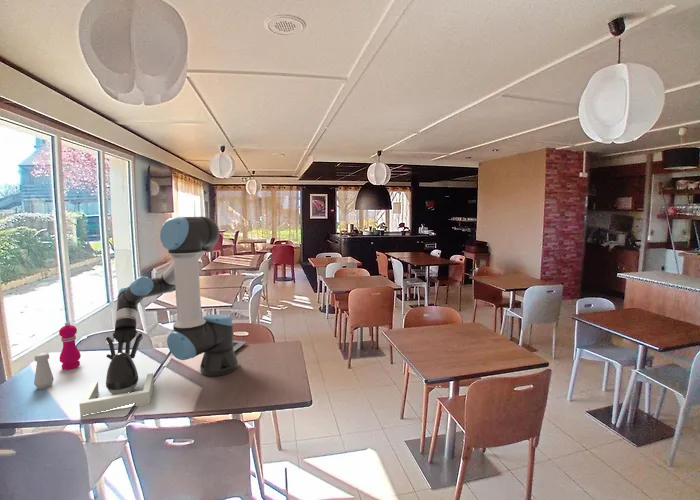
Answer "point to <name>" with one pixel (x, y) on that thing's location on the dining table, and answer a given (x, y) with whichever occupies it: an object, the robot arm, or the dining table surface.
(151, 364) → the dining table surface
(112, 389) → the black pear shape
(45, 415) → the dining table surface
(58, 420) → the dining table surface
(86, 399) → the bay
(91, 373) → the dining table surface
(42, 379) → the salt shaker
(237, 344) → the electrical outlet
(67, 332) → the pepper mill
